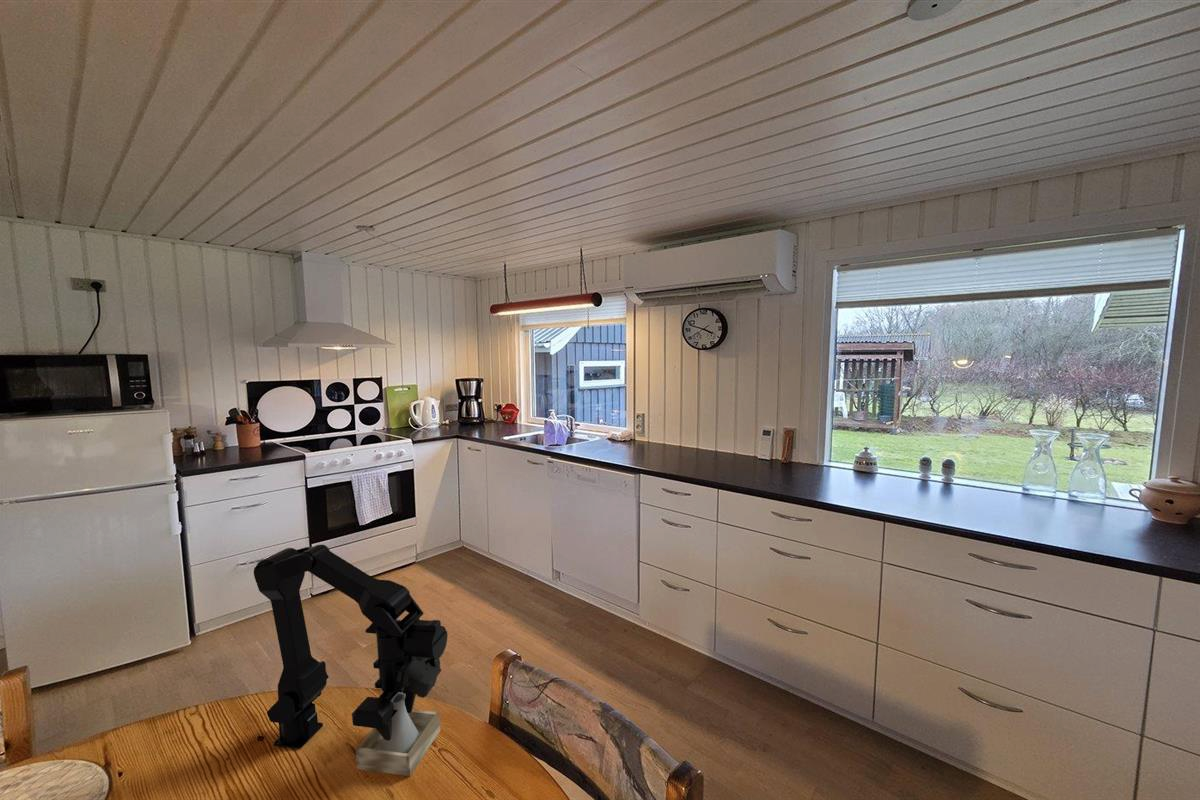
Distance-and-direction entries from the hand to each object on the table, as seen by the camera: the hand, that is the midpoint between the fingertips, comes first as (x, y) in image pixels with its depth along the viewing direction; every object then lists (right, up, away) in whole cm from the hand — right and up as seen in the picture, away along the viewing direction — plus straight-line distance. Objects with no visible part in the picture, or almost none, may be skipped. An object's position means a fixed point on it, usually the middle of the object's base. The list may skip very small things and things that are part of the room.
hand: (398, 725), depth 96 cm
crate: (0, -5, 0) cm, 5 cm away
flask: (0, -4, 0) cm, 4 cm away
